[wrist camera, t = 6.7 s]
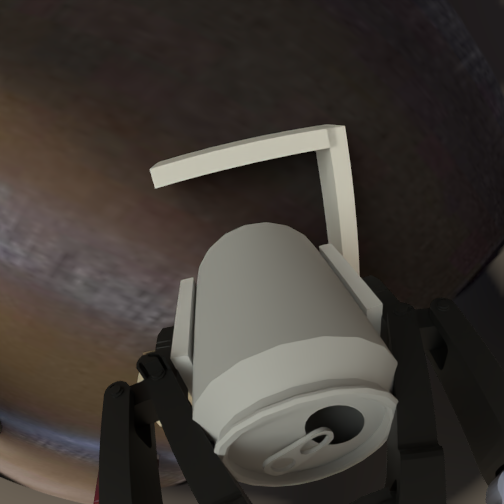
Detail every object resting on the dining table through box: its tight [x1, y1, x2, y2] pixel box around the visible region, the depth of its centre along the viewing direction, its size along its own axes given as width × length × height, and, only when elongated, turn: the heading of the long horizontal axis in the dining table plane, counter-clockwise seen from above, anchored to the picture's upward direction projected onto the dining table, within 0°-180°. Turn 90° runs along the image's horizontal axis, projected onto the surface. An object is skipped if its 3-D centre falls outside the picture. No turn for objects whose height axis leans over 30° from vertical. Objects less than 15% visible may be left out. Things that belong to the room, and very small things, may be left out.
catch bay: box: [150, 124, 360, 276], centre depth 23 cm, size 12×23×3 cm, turn 12°
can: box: [192, 222, 398, 487], centre depth 13 cm, size 8×8×12 cm
